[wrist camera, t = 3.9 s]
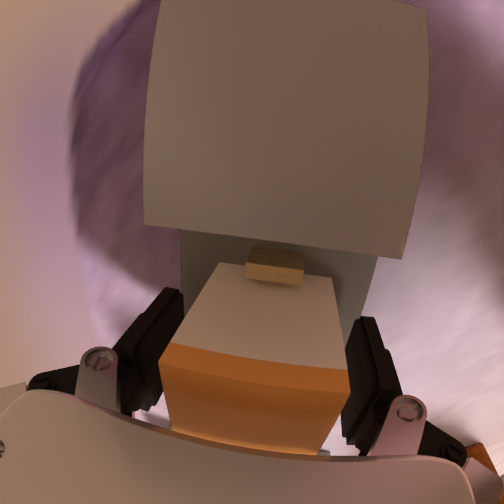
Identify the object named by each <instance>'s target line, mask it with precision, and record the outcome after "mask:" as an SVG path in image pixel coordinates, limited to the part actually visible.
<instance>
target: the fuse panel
mask: <svg viewBox="0 0 504 504" xmlns="http://www.w3.org/2000/svg"><path fill="white" fill-rule="evenodd" d="M377 257H378V256H374V255H368V254H361V253H354V252H347V251H340V250H333V249H326V248H319V247H312V246H305V245H298V244H290V243H283V242H276V241H268V240H261V239H253V238H246V237H238V236H230V235H223V234H215V233H207V232H199V231H191V230H183V229H181V274H182V294H183V298H184V318H185V317H186V315H187V313H188V312H189V310H190V308H191V307H192V305H193V304H194V302H195V300H196V299H197V297H198V296H199V294H200V292H201V291H202V289H203V288H204V286H205V284H206V283H207V281H208V280H209V278H210V276H211V275H212V273H213V272H214V270H215V268H216V267H217V265H218V264H219V262H223V263H229V264H236V265H243V266H245V275H244V278H248V279H255V280H262V281H269V282H276V283H283V284H290V285H297V286H301V285H302V279H303V274H307V275H315V276H322V277H330V278H332V282H333V287H334V292H335V297H336V303H337V308H338V313H339V319H340V325H341V330H342V336H343V343H344V349H345V347H346V344H347V341H348V338H349V335H350V332H351V329H352V326H353V323H354V321H355V319H359V318H360V316H361V313H362V310H363V306H364V303H365V300H366V297H367V293H368V290H369V287H370V283H371V280H372V276H373V272H374V269H375V265H376V261H377Z"/></svg>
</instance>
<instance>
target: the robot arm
mask: <svg viewBox="0 0 504 504" xmlns="http://www.w3.org/2000/svg"><path fill="white" fill-rule="evenodd" d="M183 320H184V298H183V294H181V293H180V292H179V290H178V289H173V288H168V287H165V288H164V289H163V290H162V291H161V293H160V294H159V295H158V296H157V297H156V299H155V300H154V301H153V302H152V303H151V305H150V306H149V307H148V308H147V309H146V311H145V312H144V313H141V314H140V315H139V316H138V317H137V319H136V320H135V321H134V322H133V323H132V325H131V326H130V327H129V328H128V329H127V331H126V332H125V333H124V334H123V336H122V337H121V338H120V339H119V340H118V342H117V343H116V344H115V345H114V347H113V348H112V349H111V348H108V347H101V346H100V347H94V348H92V349H89V350H88V351H86V352H85V353H84V354H83V356H82V358H81V362H80V364H79V365H75V366H71V367H67V368H62V369H58V370H53V371H48V372H44V373H40V374H37V375H36V376H34V377H33V378H32V379H31V381H30V382H29V384H28V385H26V383H25V382H24V383H20V384H16V385H11V386H7V387H3V388H0V504H497V503H498V502H499V500H500V498H501V496H502V493H503V490H504V483H503V481H502V479H501V478H500V477H499V476H498V475H497V474H495V473H494V472H492V471H491V470H489V469H488V468H487V467H485V466H484V465H482V464H481V463H480V462H478V461H477V460H475V459H474V458H473V457H471V458H470V459H468V458H467V452H466V449H465V447H464V446H463V444H462V443H460V442H459V441H458V440H456V439H454V438H453V437H451V436H450V435H448V434H447V433H445V432H443V431H442V430H440V429H439V428H437V427H436V426H434V425H433V424H431V423H430V422H428V421H427V420H426V417H427V409H426V406H425V405H424V403H423V402H422V401H421V400H419V399H418V398H416V397H414V396H411V395H403V393H402V390H401V386H400V383H399V379H398V376H397V373H396V370H395V366H394V363H393V360H392V357H391V354H390V352H389V350H387V349H385V347H384V344H383V341H382V338H381V335H380V332H379V329H378V326H377V324H376V321H375V318H374V317H366V316H360V318H359V319H355V321H354V323H353V326H352V329H351V332H350V335H349V338H348V341H347V344H346V347H345V355H346V362H347V369H348V376H349V384H350V392H351V393H350V395H349V397H348V399H347V401H346V403H345V405H344V407H343V409H342V411H341V425H342V436H343V437H346V441H347V445H355V447H356V448H358V449H359V451H358V453H357V455H356V456H324V455H306V454H293V453H283V452H274V451H267V450H259V449H253V448H246V447H241V446H235V445H230V444H225V443H220V442H215V441H211V440H206V439H202V438H198V437H194V436H190V435H186V434H183V433H179V432H175V431H172V430H168V429H165V428H162V427H159V426H156V425H152V424H149V423H146V422H144V421H141V420H138V419H135V411H138V410H139V409H142V410H145V411H149V409H150V408H151V406H155V405H156V404H157V402H158V400H159V398H160V396H161V394H162V392H163V386H162V380H161V375H160V370H159V364H158V361H159V359H160V358H161V356H162V354H163V353H164V351H165V349H166V348H167V346H168V344H169V343H170V341H171V339H172V338H173V336H174V334H175V333H176V331H177V330H178V328H179V326H180V325H181V323H182V321H183Z"/></svg>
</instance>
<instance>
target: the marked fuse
mask: <svg viewBox="0 0 504 504" xmlns="http://www.w3.org/2000/svg"><path fill="white" fill-rule="evenodd" d="M244 275H245V266H243V265H236V264H229V263H223V262H219V264H218V265H217V267H216V268H215V270H214V272H213V273H212V275H211V276H210V278H209V280H208V281H207V283H206V284H205V286H204V288H203V289H202V291H201V292H200V294H199V296H198V297H197V299H196V300H195V302H194V304H193V305H192V307H191V308H190V310H189V312H188V313H187V315H186V317H185V318H184V320H183V321H182V323H181V325H180V326H179V328H178V330H177V331H176V333H175V334H174V336H173V338H172V339H171V341H170V343H169V344H168V346H167V348H166V349H165V351H164V353H163V354H162V356H161V358H160V359H159V361H158V364H159V370H160V375H161V380H162V386H163V391H164V395H165V400H166V405H167V409H168V414H169V418H170V422H171V426H172V430H173V431H175V432H179V433H183V434H186V435H190V436H194V437H198V438H202V439H206V440H211V441H215V442H220V443H225V444H230V445H235V446H241V447H246V448H253V449H259V450H267V451H274V452H283V453H293V454H306V455H317V453H318V452H319V450H320V448H321V447H322V445H323V443H324V442H325V440H326V438H327V436H328V435H329V433H330V431H331V429H332V428H333V426H334V424H335V422H336V420H337V418H338V417H339V415H340V413H341V411H342V409H343V407H344V405H345V403H346V401H347V399H348V397H349V395H350V393H351V392H350V384H349V376H348V369H347V362H346V355H345V349H344V343H343V336H342V330H341V325H340V319H339V313H338V308H337V303H336V297H335V292H334V287H333V282H332V278H330V277H322V276H315V275H307V274H303V279H302V285H301V286H297V285H290V284H283V283H276V282H269V281H262V280H255V279H248V278H244Z"/></svg>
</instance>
